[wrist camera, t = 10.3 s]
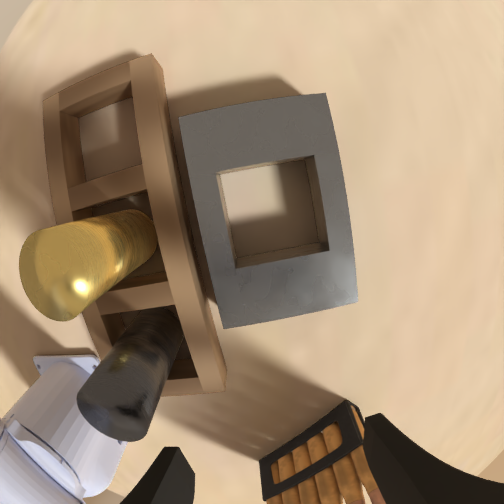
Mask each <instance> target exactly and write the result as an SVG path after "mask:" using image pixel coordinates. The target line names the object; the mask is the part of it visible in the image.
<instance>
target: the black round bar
mask: <svg viewBox="0 0 504 504" xmlns="http://www.w3.org/2000/svg"><path fill="white" fill-rule="evenodd" d="M183 336H184V332H183V329H182V326H181V323H180V320H179V319H178V318H177V316H176V315H175V314H174V313H172V312H171V311H169V310H167V309H165V308H162V307H155V308H148V309H143V310H142V311H141V312H140V313H139V314H138V315H137V316H136V318H135V319H134V320H133V321H132V323H131V324H130V325H129V326H128V328H127V329H126V330H125V331H124V333H123V334H122V335H121V336H120V338H119V339H118V340H117V341H116V343H115V344H114V345H113V347H112V348H111V349H110V350H109V352H108V353H107V354H106V356H105V357H104V358H103V359H102V361H101V362H100V363H99V365H98V366H97V367H96V369H95V370H94V371H93V373H92V374H91V375H90V377H89V378H88V379H87V381H86V382H85V383H84V385H83V386H82V387H81V389H80V390H79V392H78V393H77V398H76V400H77V405H78V408H79V410H80V412H81V414H82V415H83V417H84V418H85V419H86V421H87V422H88V423H89V424H90V425H91V426H93V427H94V428H95V429H96V430H98V431H99V432H101V433H102V434H104V435H106V436H108V437H110V438H113V439H116V440H120V441H126V442H133V441H138V440H141V439H142V438H144V437H145V436H146V434H147V432H148V429H149V426H150V423H151V421H152V418H153V415H154V412H155V410H156V407H157V404H158V402H159V399H160V396H161V394H162V391H163V389H164V386H165V383H166V381H167V378H168V376H169V373H170V370H171V368H172V365H173V363H174V360H175V358H176V355H177V353H178V350H179V347H180V345H181V342H182V340H183Z"/></svg>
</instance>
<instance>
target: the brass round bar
mask: <svg viewBox="0 0 504 504" xmlns="http://www.w3.org/2000/svg"><path fill="white" fill-rule="evenodd" d="M157 241H158V238H157V234H156V229H155V225H154V223H153V221H152V220H151V219H150V217H149V216H147V215H146V214H145V213H143V212H141V211H139V210H134V209H129V210H124V211H119V212H114V213H109V214H105V215H100V216H95V217H91V218H87V219H82V220H78V221H74V222H70V223H65V224H61V225H57V226H53V227H50V228H46V229H42V230H38V231H36V232H34V233H32V234H31V235H30V236H29V237H28V238H27V239H26V241H25V242H24V244H23V246H22V249H21V253H20V258H19V272H20V278H21V282H22V285H23V288H24V290H25V292H26V295H27V296H28V298H29V300H30V301H31V303H32V304H33V305H34V306H35V308H36V309H37V310H38V311H39V312H41V313H42V314H43V315H45V316H46V317H48V318H50V319H52V320H55V321H69V320H71V319H73V318H75V317H76V316H77V315H79V314H80V313H81V312H82V311H83V310H85V309H86V308H87V307H88V306H90V305H91V304H92V303H93V302H94V301H96V300H97V299H98V298H99V297H101V296H102V295H103V294H104V293H106V292H107V291H108V290H109V289H111V288H112V287H113V286H114V285H116V284H117V283H118V282H119V281H121V280H122V279H123V278H125V277H126V276H127V275H128V274H130V273H131V272H132V271H134V270H135V269H136V268H138V267H139V266H140V265H141V264H143V263H144V262H145V261H147V260H148V259H149V258H150V257H151V256H152V255H153V253H154V252H155V249H156V247H157Z"/></svg>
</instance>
